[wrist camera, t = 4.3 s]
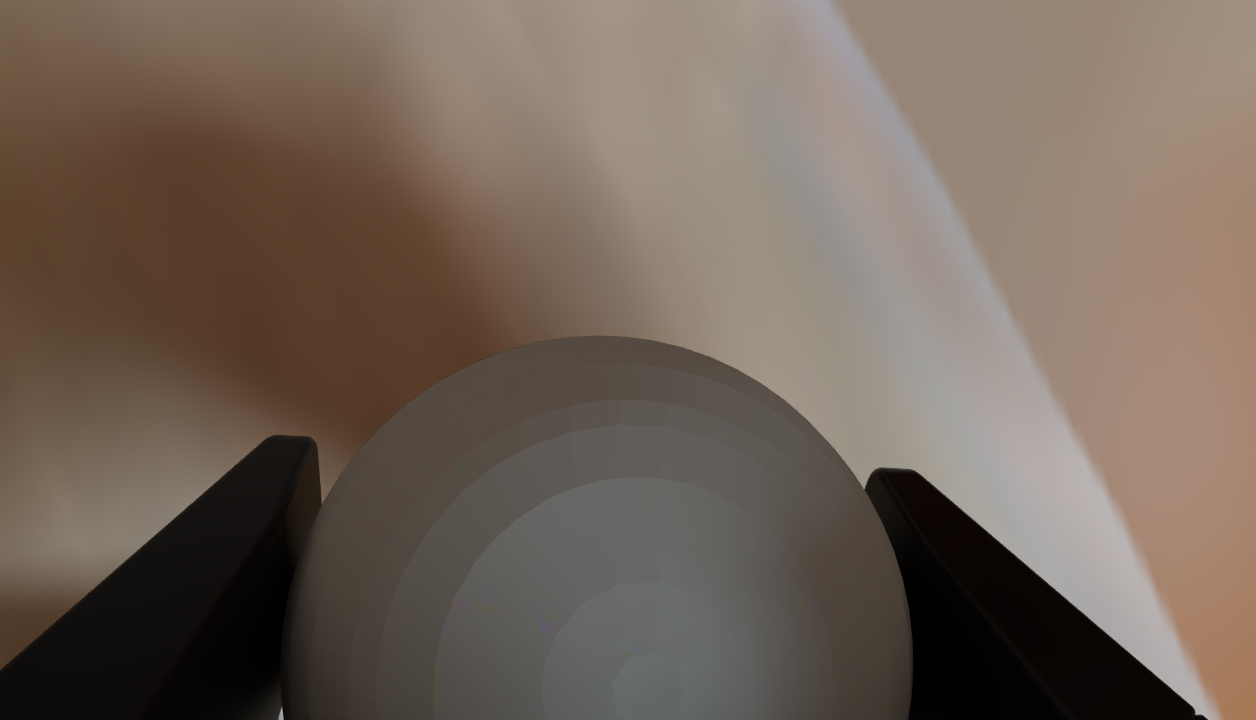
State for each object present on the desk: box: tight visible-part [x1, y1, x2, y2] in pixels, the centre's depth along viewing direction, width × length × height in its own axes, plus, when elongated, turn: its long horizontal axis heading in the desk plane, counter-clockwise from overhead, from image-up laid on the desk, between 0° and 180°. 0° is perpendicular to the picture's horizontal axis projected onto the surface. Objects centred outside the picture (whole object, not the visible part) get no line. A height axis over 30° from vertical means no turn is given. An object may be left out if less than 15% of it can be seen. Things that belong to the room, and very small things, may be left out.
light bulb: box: [280, 336, 913, 720], centre depth 11 cm, size 6×6×10 cm
